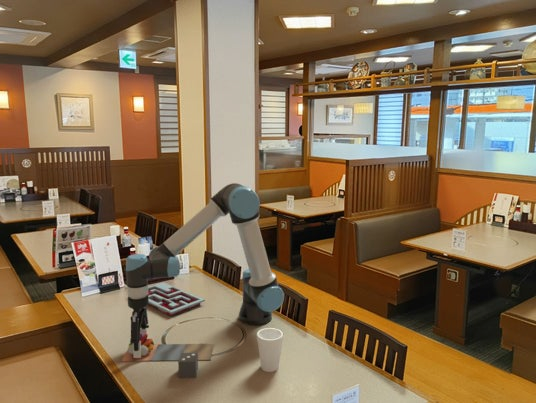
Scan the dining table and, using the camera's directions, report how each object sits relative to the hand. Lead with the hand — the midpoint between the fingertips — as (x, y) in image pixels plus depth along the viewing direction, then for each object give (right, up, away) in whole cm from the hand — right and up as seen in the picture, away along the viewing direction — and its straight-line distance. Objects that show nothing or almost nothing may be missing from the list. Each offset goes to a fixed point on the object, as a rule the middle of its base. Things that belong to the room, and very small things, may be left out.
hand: (140, 350), depth 166 cm
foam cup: (+50, -3, -9) cm, 51 cm away
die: (+21, -3, -13) cm, 25 cm away
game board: (+11, -1, +1) cm, 11 cm away
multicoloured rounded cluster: (0, 0, 0) cm, 1 cm away
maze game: (-1, +7, +49) cm, 50 cm away
